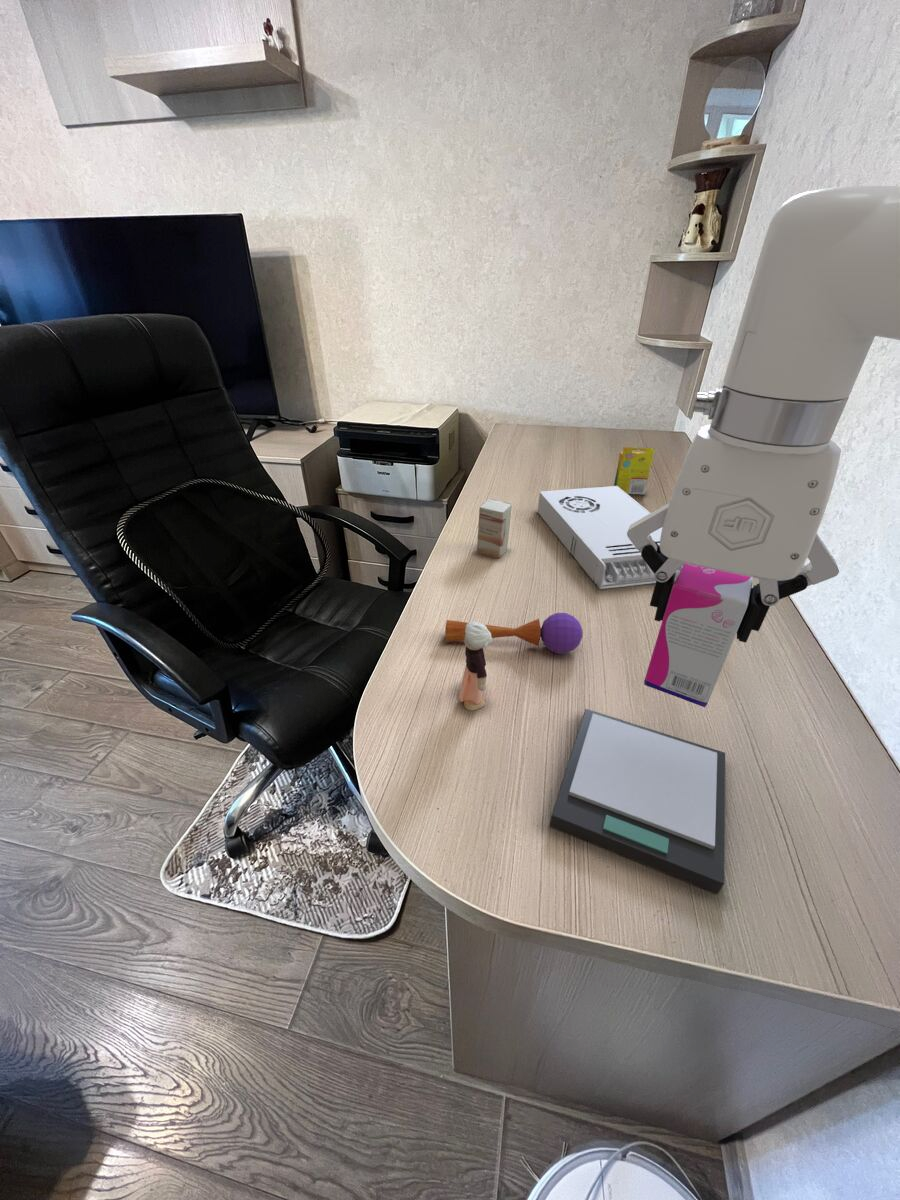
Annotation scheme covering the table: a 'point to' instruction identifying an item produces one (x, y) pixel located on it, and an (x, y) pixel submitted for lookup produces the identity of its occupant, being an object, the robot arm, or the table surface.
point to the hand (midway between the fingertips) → (699, 621)
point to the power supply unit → (600, 533)
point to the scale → (646, 798)
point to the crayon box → (633, 470)
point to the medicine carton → (493, 528)
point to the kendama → (531, 632)
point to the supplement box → (697, 632)
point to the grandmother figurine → (474, 665)
